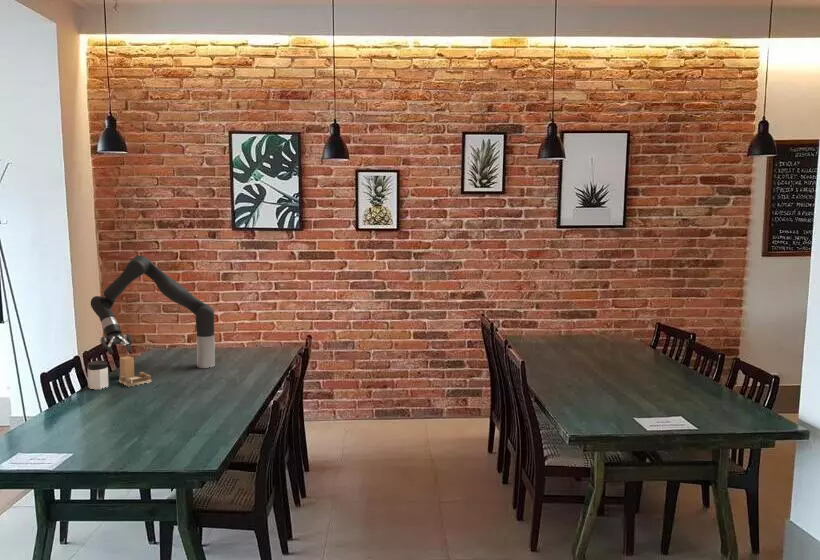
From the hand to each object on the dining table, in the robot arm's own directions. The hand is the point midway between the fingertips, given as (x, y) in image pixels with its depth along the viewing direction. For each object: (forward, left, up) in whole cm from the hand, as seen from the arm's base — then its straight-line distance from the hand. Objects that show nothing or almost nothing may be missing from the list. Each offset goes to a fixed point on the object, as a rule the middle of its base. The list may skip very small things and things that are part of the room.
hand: (120, 352), depth 300 cm
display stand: (+15, +13, -11) cm, 23 cm away
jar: (+23, -1, -11) cm, 26 cm away
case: (+5, +5, -11) cm, 13 cm away
